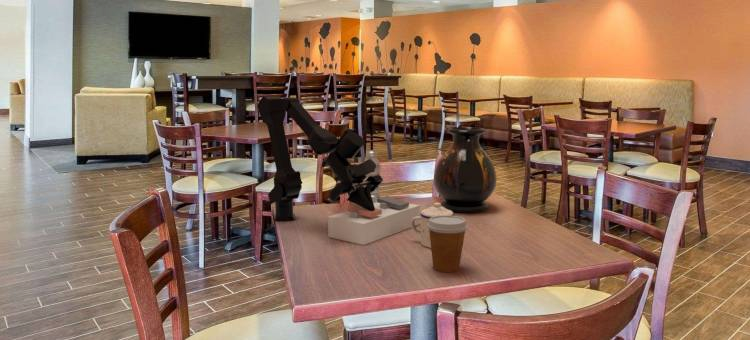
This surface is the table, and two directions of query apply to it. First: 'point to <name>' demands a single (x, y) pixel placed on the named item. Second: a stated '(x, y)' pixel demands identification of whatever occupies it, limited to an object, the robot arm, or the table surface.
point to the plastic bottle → (374, 173)
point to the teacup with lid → (425, 216)
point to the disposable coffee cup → (446, 241)
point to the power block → (372, 223)
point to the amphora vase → (465, 173)
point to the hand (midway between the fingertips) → (373, 210)
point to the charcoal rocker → (393, 202)
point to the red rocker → (364, 211)
